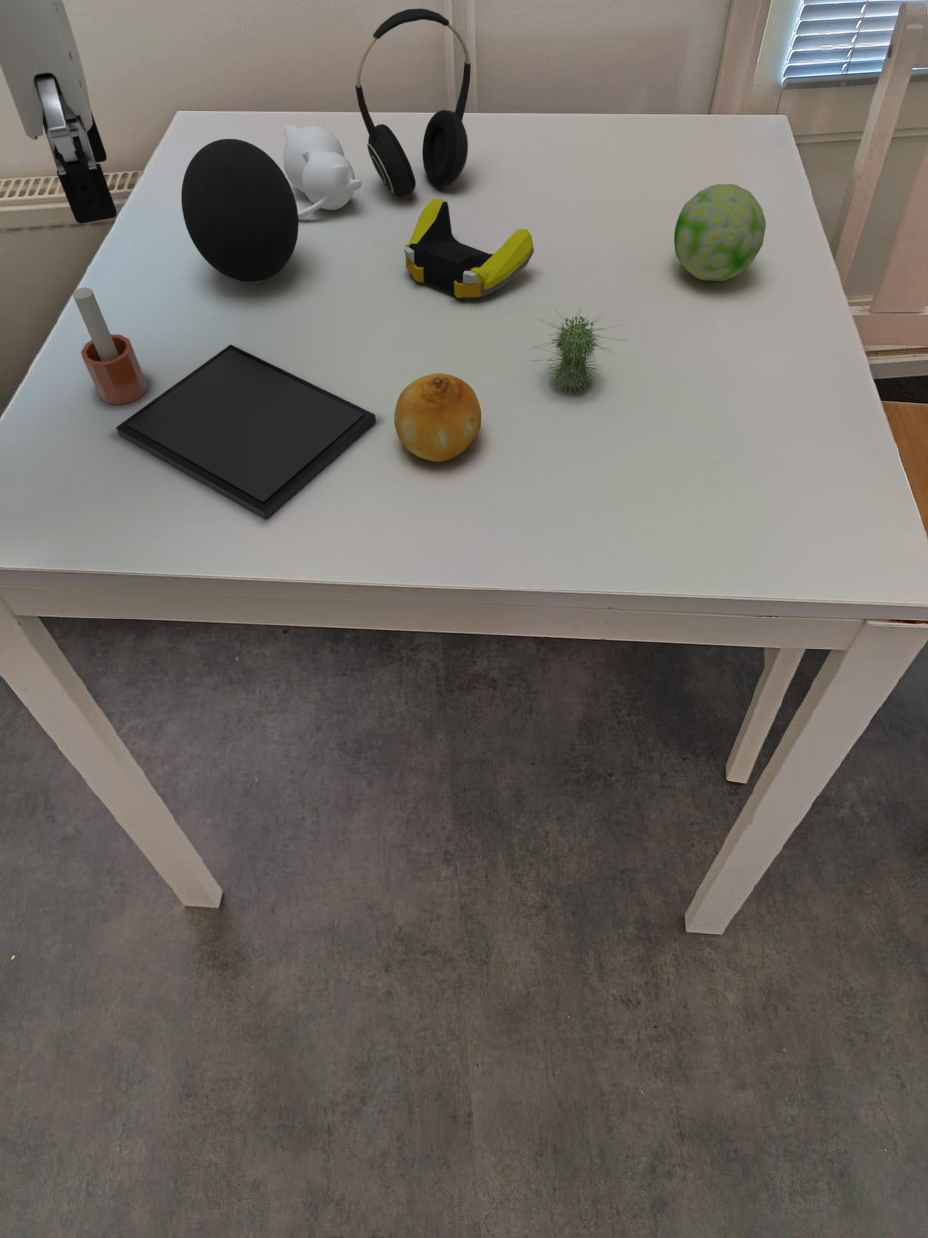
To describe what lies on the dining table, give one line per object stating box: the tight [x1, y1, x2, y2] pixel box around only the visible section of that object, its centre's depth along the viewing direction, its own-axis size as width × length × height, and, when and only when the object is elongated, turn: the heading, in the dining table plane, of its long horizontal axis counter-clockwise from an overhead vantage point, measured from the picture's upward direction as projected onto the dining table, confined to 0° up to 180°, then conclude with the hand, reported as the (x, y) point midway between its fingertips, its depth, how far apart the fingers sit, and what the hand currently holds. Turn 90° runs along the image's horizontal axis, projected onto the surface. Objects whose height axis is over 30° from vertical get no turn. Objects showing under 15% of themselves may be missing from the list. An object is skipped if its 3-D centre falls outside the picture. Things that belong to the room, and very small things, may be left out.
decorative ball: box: [673, 183, 767, 282], centre depth 95 cm, size 10×10×10 cm
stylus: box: [72, 287, 119, 362], centre depth 83 cm, size 2×2×11 cm
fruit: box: [393, 372, 482, 462], centre depth 80 cm, size 8×8×8 cm
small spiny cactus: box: [520, 307, 626, 394], centre depth 84 cm, size 12×12×8 cm
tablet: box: [115, 344, 377, 520], centre depth 84 cm, size 16×20×1 cm
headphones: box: [354, 8, 472, 197], centre depth 103 cm, size 9×15×20 cm, turn 115°
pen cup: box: [80, 333, 148, 405], centre depth 86 cm, size 5×5×5 cm
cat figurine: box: [282, 124, 363, 221], centre depth 107 cm, size 9×11×12 cm
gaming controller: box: [403, 198, 535, 299], centre depth 97 cm, size 15×6×10 cm
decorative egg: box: [180, 138, 299, 283], centre depth 94 cm, size 12×12×15 cm
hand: (93, 189), depth 70 cm, fingers open, 9 cm apart
